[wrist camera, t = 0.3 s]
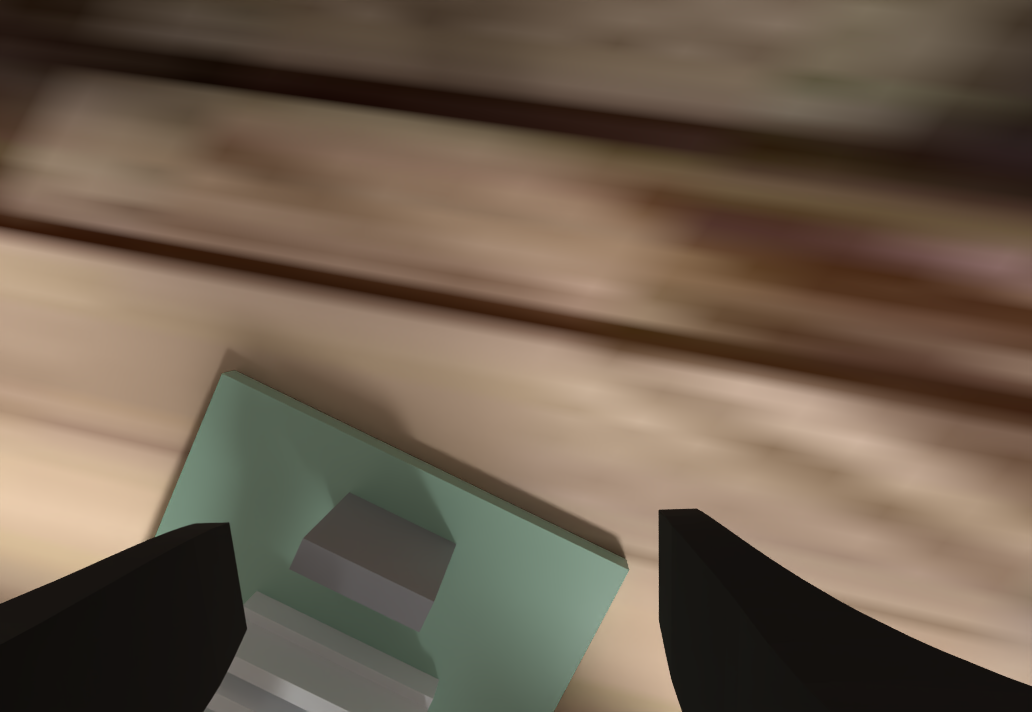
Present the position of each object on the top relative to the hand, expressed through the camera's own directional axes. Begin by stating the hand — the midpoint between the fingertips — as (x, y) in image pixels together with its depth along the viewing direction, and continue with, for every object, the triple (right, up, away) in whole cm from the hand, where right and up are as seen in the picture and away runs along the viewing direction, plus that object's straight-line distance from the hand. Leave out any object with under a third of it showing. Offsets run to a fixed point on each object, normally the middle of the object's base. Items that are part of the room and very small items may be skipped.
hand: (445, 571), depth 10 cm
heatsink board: (-6, -9, +12) cm, 16 cm away
